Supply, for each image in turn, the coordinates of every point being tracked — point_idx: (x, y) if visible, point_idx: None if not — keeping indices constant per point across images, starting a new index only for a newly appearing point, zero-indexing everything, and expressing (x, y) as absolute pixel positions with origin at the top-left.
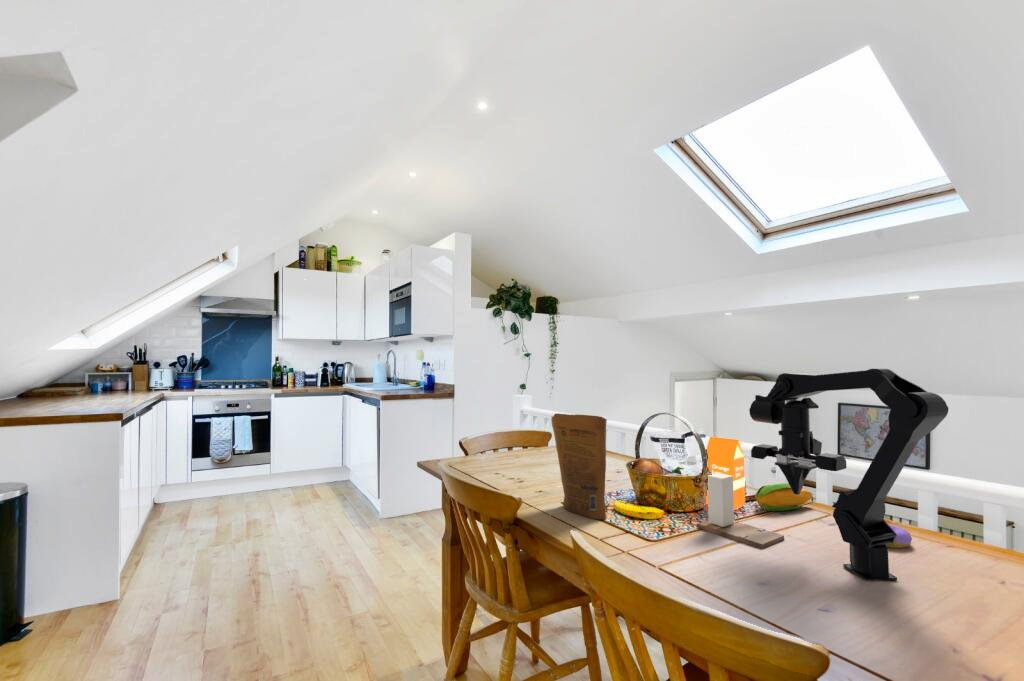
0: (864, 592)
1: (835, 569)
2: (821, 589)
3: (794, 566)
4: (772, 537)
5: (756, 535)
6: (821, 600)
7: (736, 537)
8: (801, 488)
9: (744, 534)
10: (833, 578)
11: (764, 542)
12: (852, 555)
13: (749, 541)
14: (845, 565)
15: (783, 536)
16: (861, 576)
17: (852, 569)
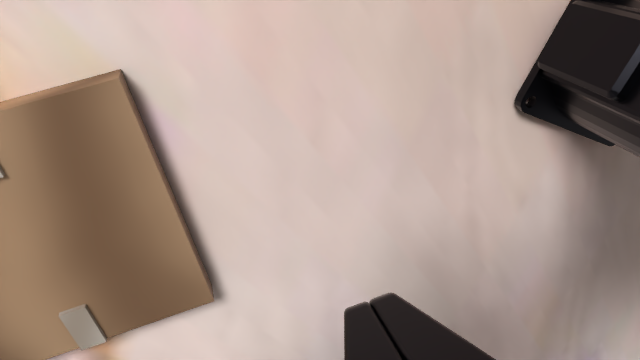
0: (623, 219)
1: (502, 156)
2: (538, 317)
3: (405, 282)
4: (135, 183)
5: (77, 249)
6: (562, 356)
7: (66, 346)
8: (454, 341)
9: (46, 302)
10: (530, 229)
11: (196, 276)
12: (608, 138)
13: (143, 320)
14: (531, 111)
15: (121, 84)
16: (600, 142)
17: (563, 121)
